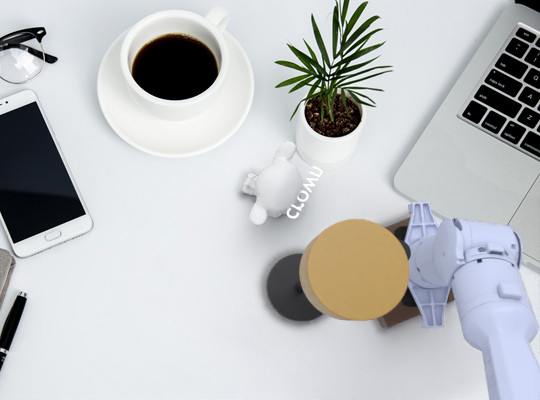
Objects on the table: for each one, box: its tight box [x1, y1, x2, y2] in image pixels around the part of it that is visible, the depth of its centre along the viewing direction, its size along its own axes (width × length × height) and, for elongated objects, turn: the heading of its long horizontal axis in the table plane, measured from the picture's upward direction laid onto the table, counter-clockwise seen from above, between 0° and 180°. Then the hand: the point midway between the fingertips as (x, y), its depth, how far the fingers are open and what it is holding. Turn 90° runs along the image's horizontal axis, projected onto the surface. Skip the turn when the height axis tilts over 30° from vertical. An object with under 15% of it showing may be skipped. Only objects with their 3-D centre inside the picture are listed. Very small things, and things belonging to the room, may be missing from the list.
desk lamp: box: [265, 218, 411, 322], centre depth 60 cm, size 9×10×48 cm
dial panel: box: [377, 216, 455, 329], centre depth 82 cm, size 12×10×3 cm
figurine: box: [241, 140, 324, 226], centre depth 82 cm, size 12×8×10 cm
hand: (404, 269), depth 80 cm, fingers closed on dial knob, 4 cm apart
